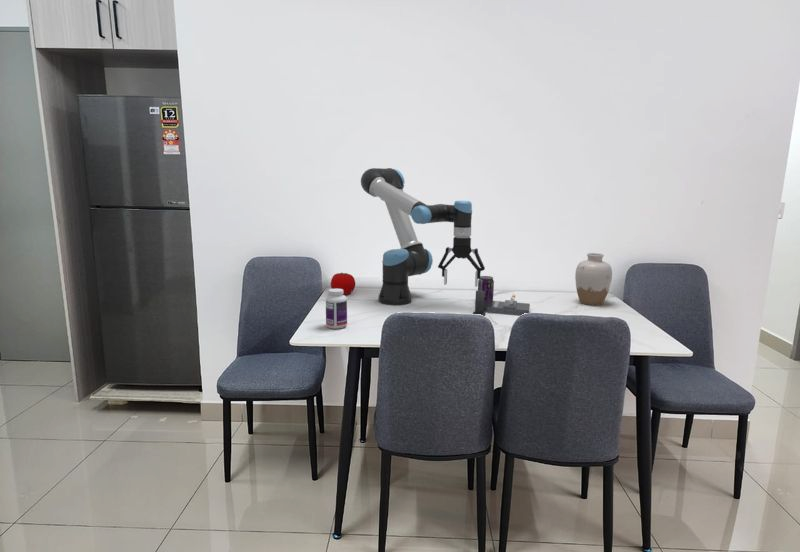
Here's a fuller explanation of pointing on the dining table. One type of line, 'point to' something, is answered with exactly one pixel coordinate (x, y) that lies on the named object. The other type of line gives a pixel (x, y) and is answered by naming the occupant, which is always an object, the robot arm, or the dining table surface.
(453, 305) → the dining table surface
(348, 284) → the tomato
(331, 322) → the pill bottle
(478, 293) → the cord post
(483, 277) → the beverage can
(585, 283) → the vase
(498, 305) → the breaker panel
